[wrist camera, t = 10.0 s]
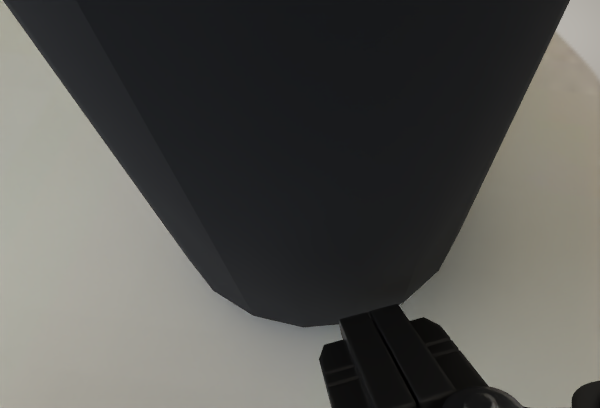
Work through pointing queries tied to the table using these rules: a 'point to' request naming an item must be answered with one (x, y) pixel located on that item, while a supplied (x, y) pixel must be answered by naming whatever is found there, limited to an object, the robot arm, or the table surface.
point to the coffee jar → (301, 130)
